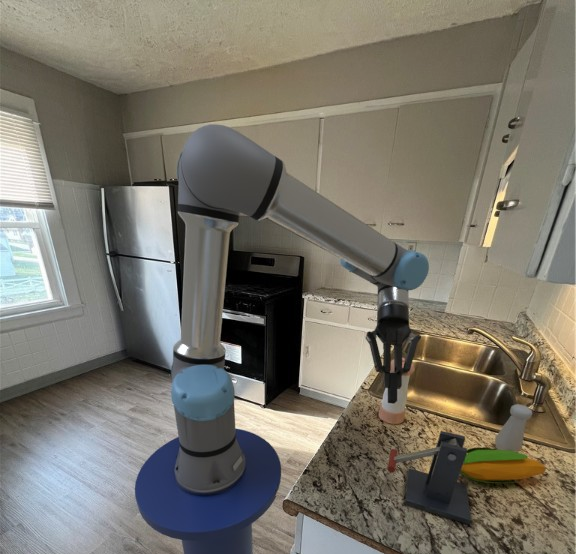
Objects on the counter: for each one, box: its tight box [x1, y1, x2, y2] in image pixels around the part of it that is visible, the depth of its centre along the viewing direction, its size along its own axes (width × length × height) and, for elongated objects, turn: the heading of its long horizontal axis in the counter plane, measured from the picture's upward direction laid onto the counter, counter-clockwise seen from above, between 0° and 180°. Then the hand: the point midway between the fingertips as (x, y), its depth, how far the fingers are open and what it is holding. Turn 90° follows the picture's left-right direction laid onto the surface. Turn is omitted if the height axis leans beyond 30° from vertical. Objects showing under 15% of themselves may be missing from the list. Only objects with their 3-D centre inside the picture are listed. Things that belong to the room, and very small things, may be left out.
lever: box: [386, 438, 460, 473], centre depth 64 cm, size 14×6×2 cm
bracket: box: [404, 430, 472, 526], centre depth 64 cm, size 12×10×15 cm
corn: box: [460, 446, 547, 484], centre depth 71 cm, size 7×8×20 cm
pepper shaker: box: [378, 357, 415, 425], centre depth 89 cm, size 7×7×19 cm
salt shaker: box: [494, 403, 533, 453], centre depth 78 cm, size 6×6×13 cm
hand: (392, 401), depth 71 cm, fingers closed
